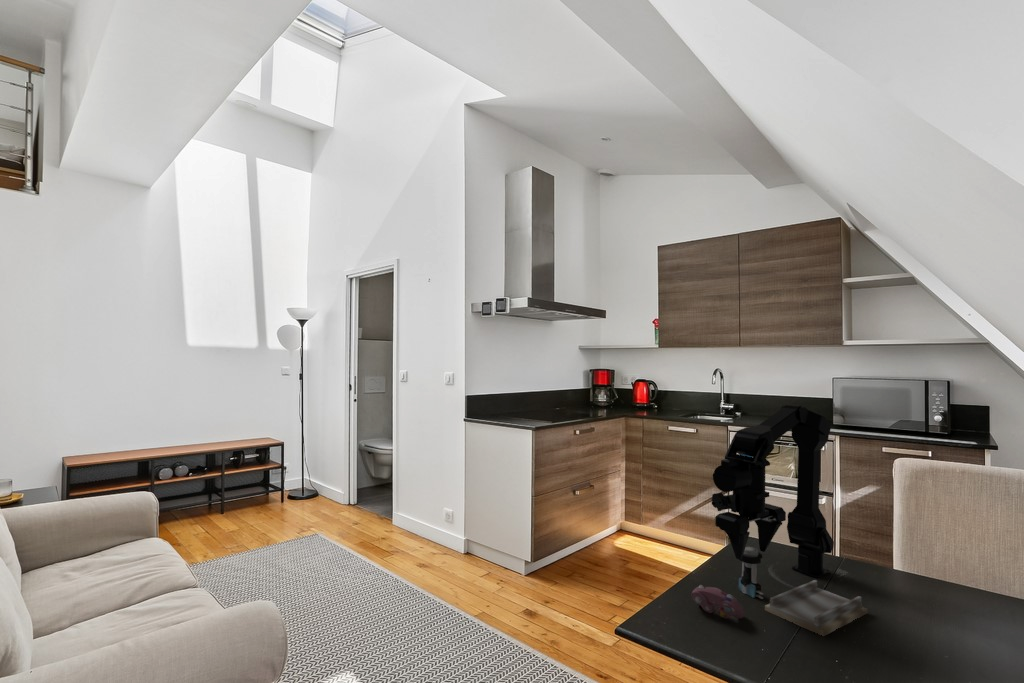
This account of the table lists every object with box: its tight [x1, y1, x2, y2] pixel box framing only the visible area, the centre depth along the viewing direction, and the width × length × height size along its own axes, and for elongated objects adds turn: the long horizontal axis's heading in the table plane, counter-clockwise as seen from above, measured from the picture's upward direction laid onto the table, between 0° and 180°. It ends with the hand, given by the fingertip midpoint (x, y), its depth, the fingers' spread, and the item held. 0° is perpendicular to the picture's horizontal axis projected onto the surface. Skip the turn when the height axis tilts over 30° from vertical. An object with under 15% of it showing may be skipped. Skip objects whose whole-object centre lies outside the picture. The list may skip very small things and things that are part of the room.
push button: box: [738, 545, 764, 600], centre depth 119 cm, size 7×5×10 cm
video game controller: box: [690, 584, 745, 620], centre depth 109 cm, size 10×5×7 cm, turn 47°
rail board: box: [764, 579, 868, 637], centre depth 111 cm, size 18×12×3 cm, turn 123°
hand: (750, 555), depth 119 cm, fingers open, 9 cm apart
